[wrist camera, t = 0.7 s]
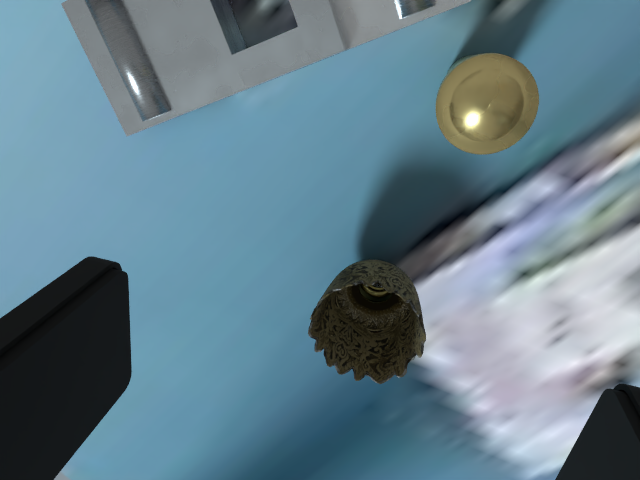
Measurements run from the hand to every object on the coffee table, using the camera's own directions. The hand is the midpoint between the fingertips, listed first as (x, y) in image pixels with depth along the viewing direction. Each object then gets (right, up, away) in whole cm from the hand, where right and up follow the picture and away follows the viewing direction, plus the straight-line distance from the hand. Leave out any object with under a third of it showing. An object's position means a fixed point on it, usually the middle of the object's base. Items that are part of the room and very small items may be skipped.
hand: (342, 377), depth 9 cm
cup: (+4, 0, +28) cm, 29 cm away
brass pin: (+9, +13, +21) cm, 26 cm away
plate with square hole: (-4, +18, +22) cm, 29 cm away
